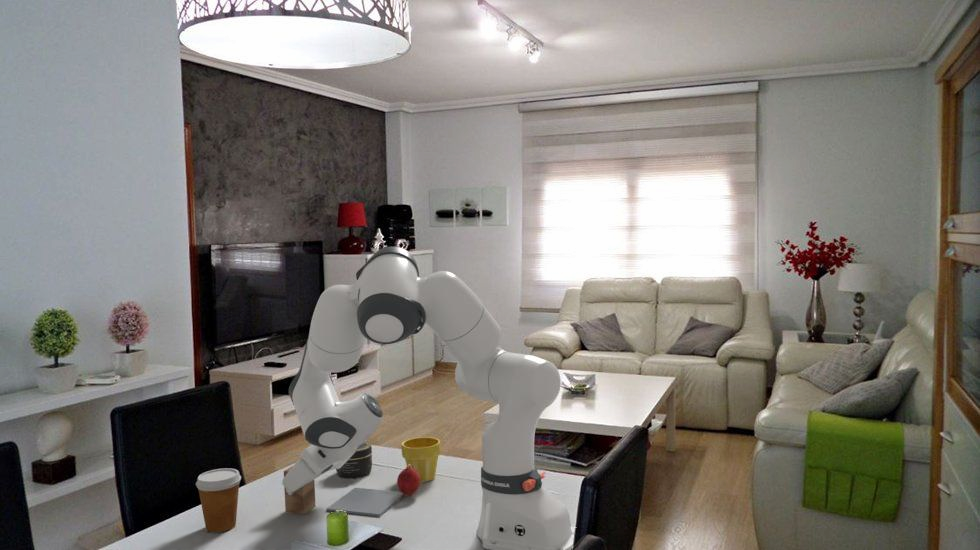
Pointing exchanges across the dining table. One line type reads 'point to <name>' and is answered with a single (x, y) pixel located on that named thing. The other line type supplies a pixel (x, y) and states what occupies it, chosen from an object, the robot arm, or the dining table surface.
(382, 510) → the slate coaster
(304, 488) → the walnut block
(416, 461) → the plant pot
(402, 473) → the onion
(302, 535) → the dining table surface
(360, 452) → the jar
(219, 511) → the disposable coffee cup
